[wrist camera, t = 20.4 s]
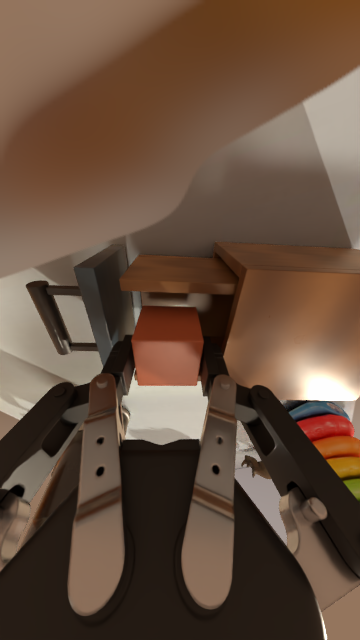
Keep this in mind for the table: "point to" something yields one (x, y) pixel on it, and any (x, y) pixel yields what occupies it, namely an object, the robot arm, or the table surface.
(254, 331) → the cabinet
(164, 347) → the block
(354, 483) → the stacking toy
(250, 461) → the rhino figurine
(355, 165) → the table surface
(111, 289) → the drawer
